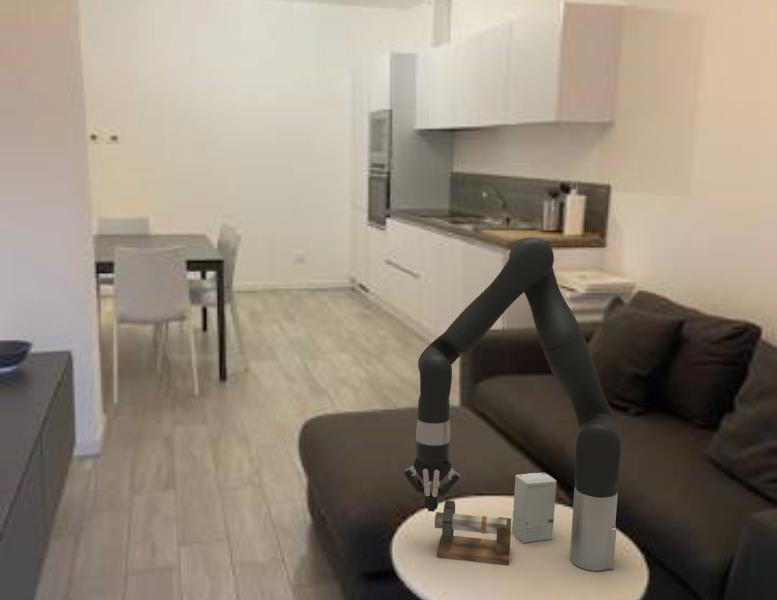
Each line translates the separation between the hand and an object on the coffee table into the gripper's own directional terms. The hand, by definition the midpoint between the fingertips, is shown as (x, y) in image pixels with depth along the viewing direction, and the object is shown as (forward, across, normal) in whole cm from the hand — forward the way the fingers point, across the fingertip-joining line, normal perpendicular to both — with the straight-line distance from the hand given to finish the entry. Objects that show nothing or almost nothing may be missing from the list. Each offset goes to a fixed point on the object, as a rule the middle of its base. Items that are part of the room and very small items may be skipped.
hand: (431, 509), depth 176 cm
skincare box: (+10, -23, -11) cm, 27 cm away
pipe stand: (+9, -10, 0) cm, 14 cm away
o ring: (+7, -4, 0) cm, 8 cm away
